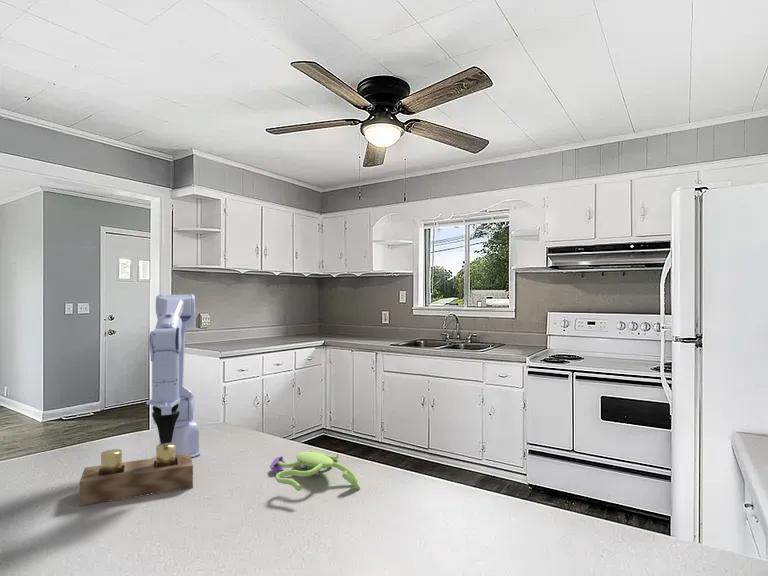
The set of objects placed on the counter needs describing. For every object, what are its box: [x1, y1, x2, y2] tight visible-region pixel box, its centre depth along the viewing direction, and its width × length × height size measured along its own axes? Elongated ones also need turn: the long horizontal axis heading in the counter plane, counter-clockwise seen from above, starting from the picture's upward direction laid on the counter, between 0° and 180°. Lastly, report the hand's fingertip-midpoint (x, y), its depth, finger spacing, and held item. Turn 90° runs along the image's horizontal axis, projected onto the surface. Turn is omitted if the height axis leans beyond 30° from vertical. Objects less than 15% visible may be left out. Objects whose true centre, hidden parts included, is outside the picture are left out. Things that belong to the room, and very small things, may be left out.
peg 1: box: [100, 448, 123, 476], centre depth 108 cm, size 4×4×5 cm
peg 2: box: [155, 443, 175, 468], centre depth 113 cm, size 4×4×5 cm
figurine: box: [269, 449, 361, 492], centre depth 117 cm, size 18×27×6 cm
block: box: [78, 453, 194, 507], centre depth 110 cm, size 22×9×5 cm, turn 115°
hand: (165, 439), depth 113 cm, fingers open, 5 cm apart
